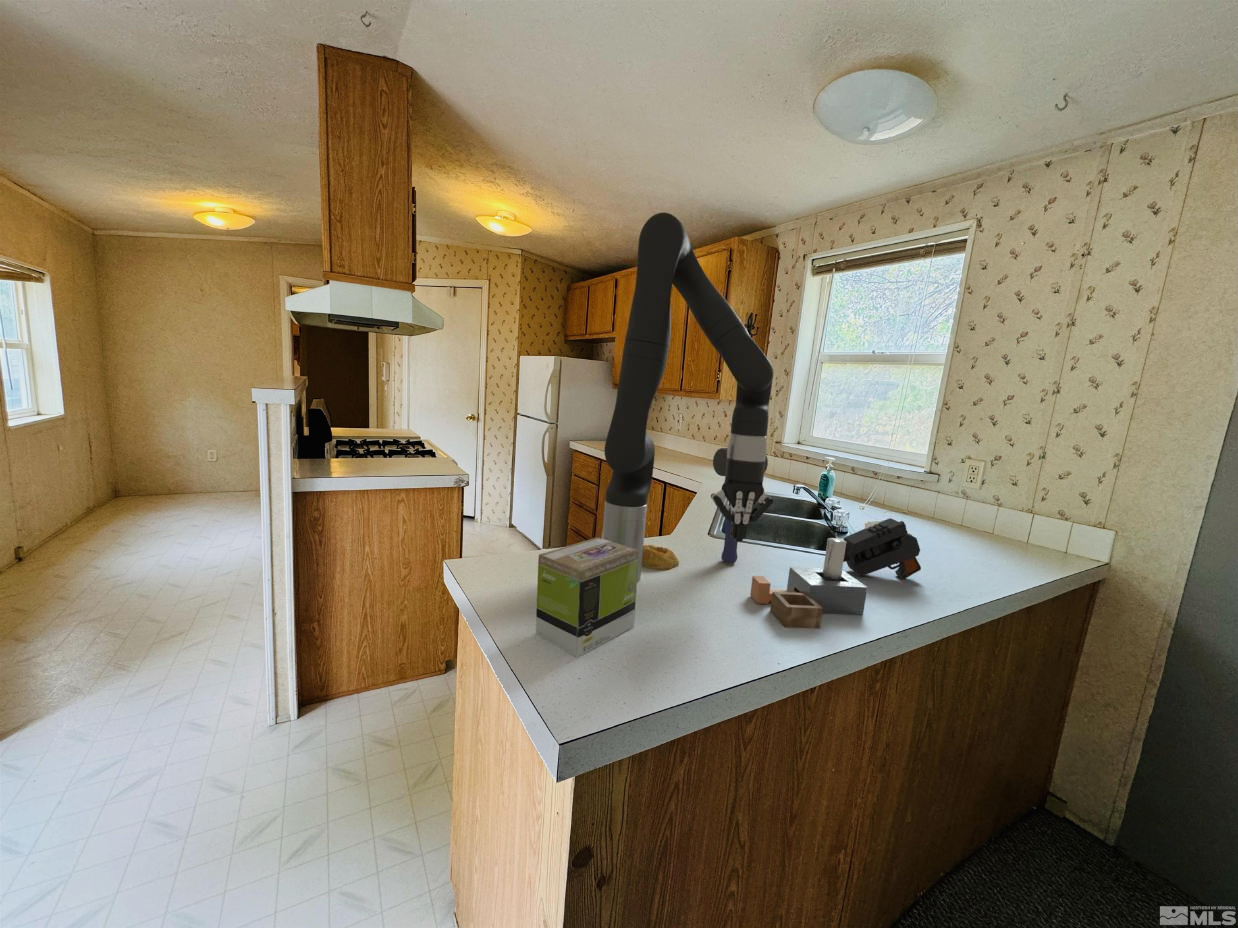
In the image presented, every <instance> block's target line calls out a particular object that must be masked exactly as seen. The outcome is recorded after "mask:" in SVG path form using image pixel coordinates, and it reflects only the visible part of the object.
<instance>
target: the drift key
mask: <svg viewBox="0 0 1238 928" xmlns="http://www.w3.org/2000/svg"><path fill="white" fill-rule="evenodd" d="M773 592H792V593H797V592H796V591H787V590H785V589H784V590H783V589H782V590H779V589H777V590H776V589H771V582H770V581H769V580H768V579H767V578H766V577H765V576H763V575H752V578H751V587H750V594H749V595H750V597H751V598H752V600H753V601H754V602H755V603H756V604H765V605H766V604H767V605H768V604H769V603H771V600H772V593H773Z"/></svg>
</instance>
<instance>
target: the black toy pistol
mask: <svg viewBox="0 0 1238 928" xmlns="http://www.w3.org/2000/svg"><path fill="white" fill-rule="evenodd" d="M843 540H844V541H846V548H845V554H844V561H843V563H846V564H847V567H848V568H849V569H850V570H851V571H853V572H854V573H855V574H857V575H858V576H861V577H863V576H867V575H869V574H871V573H874V572H877V571H880V570H883V569H885V568H888V569H890V570H895V571H894V572H895V575H896V576H897V577H899V578H900V579H901V580H905V579H907V578H908V577H911V576H912V575H913V574H915V573H917V572H919V571H921V568H922V567H921V565H920V563H919V561H918V559H917V557H919V555H920V553H921V547H920V545H919V541H918V538H917V537H915V536H913V535H912V534H911V533H908V530H907V526H906V523H905V522H904V521H903V520H900V521H898V520H896V519H893V518H890V517H889V518H888V519H887V518H886V519H884V520H882V522H879V523H878V524H875V525H873V527H872V526H870V527H868V529H867V528H865V527H864V528H863V529H861V530H859V531H856V532H854V533H852V534H849V535H847V536H845V537H844V538H843Z"/></svg>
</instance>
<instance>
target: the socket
mask: <svg viewBox="0 0 1238 928" xmlns="http://www.w3.org/2000/svg"><path fill="white" fill-rule="evenodd" d="M823 568H824V567H823ZM823 568H822V567H821V568H819V567H799V566H789V569H788V570H789V571H788V578H787V584H786V591H796V592H797V593H806V594H808V595H809V596H810V597H811V598H812V599H813V600H814V601H815V602H816V603H817V604H818V605H820V606H821V607H822V608H823V611H822V615H824V614H828V615H829V614H830V615H849V616H850V615H851V616H852V615H855V616H863V615H864V610H865V605H866V598H867V592H868V586H867V585H865V584H864V583H862V582H860V581H859V580H858V579H856V578H855V577H854V576H852V575H850V574H849V573H848V572H846V571H845V570H843V569H842V574H841V580H840V582H839V581H826V580H824V579H823V578H822V575H823Z"/></svg>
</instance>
